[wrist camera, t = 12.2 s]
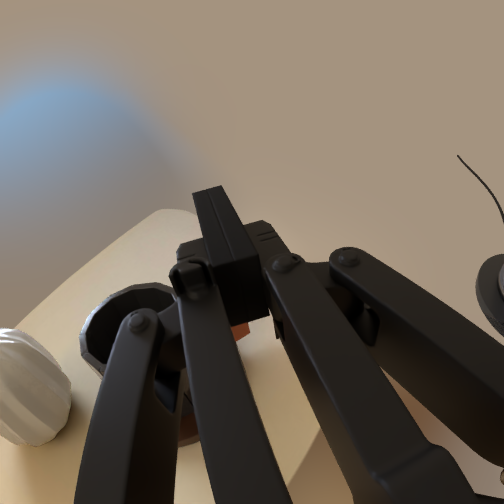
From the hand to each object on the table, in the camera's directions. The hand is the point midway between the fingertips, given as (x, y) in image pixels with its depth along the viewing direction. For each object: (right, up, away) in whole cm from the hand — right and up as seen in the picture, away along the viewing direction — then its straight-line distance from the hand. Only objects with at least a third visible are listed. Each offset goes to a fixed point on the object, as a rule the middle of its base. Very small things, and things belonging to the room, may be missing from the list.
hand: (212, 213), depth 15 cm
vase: (-25, -23, +12) cm, 37 cm away
